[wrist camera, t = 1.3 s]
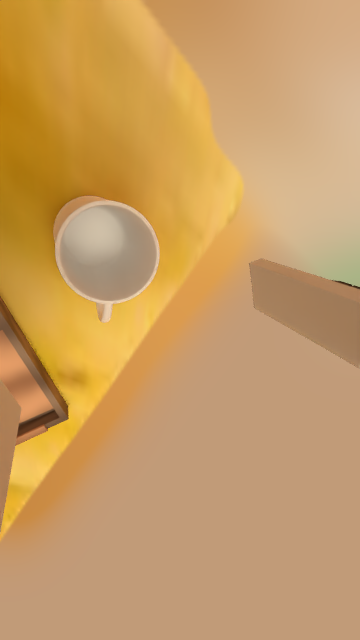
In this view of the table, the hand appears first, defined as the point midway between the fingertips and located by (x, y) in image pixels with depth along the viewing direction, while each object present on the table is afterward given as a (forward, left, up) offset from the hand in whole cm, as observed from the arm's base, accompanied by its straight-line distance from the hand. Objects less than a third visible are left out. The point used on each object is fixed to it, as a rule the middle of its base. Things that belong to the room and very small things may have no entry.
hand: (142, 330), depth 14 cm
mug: (0, 0, -22) cm, 22 cm away
